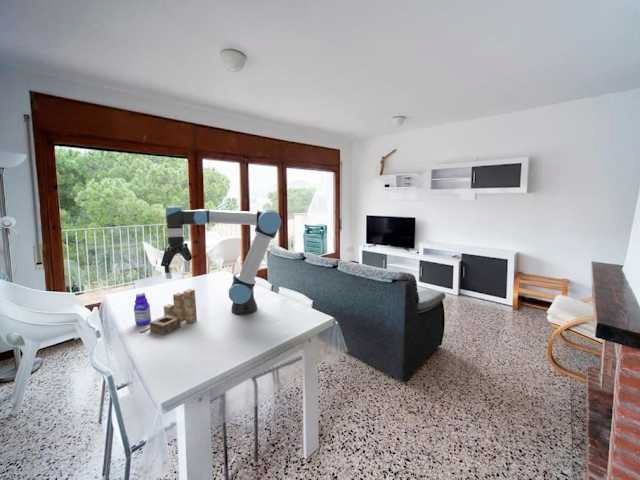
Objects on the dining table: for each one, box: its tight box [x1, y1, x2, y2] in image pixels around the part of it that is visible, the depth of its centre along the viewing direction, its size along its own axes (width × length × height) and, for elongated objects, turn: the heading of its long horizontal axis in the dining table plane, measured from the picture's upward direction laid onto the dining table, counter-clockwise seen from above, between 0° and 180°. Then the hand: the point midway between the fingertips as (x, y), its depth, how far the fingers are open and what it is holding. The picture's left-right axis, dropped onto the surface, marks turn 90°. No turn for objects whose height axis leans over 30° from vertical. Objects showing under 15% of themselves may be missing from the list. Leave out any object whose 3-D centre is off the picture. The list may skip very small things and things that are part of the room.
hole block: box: [149, 315, 182, 336], centre depth 149 cm, size 10×10×5 cm
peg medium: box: [172, 291, 186, 322], centre depth 160 cm, size 4×4×15 cm
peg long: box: [182, 288, 198, 324], centre depth 157 cm, size 4×4×18 cm
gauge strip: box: [139, 326, 150, 334], centre depth 152 cm, size 15×2×1 cm, turn 158°
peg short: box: [163, 303, 175, 317], centre depth 164 cm, size 4×4×7 cm
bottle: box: [133, 291, 152, 326], centre depth 154 cm, size 7×6×17 cm
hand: (178, 275), depth 153 cm, fingers open, 13 cm apart
